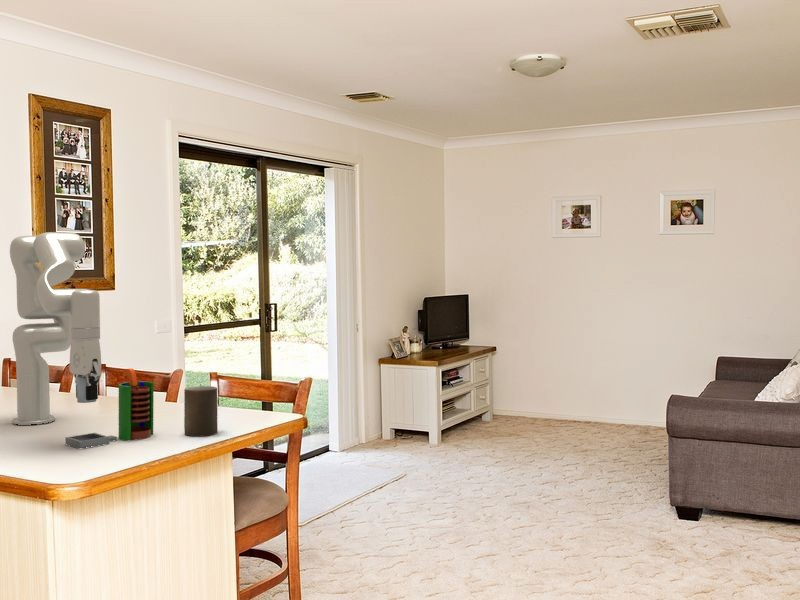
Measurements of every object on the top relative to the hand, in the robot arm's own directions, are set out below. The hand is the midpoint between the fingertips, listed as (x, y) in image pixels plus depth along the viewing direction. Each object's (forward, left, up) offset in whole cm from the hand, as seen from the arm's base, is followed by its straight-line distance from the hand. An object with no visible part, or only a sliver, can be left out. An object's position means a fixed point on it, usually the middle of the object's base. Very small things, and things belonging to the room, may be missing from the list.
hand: (86, 398), depth 222 cm
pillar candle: (+11, +30, -13) cm, 35 cm away
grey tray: (0, +2, -13) cm, 13 cm away
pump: (0, 0, -1) cm, 1 cm away
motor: (+1, +14, -13) cm, 19 cm away
